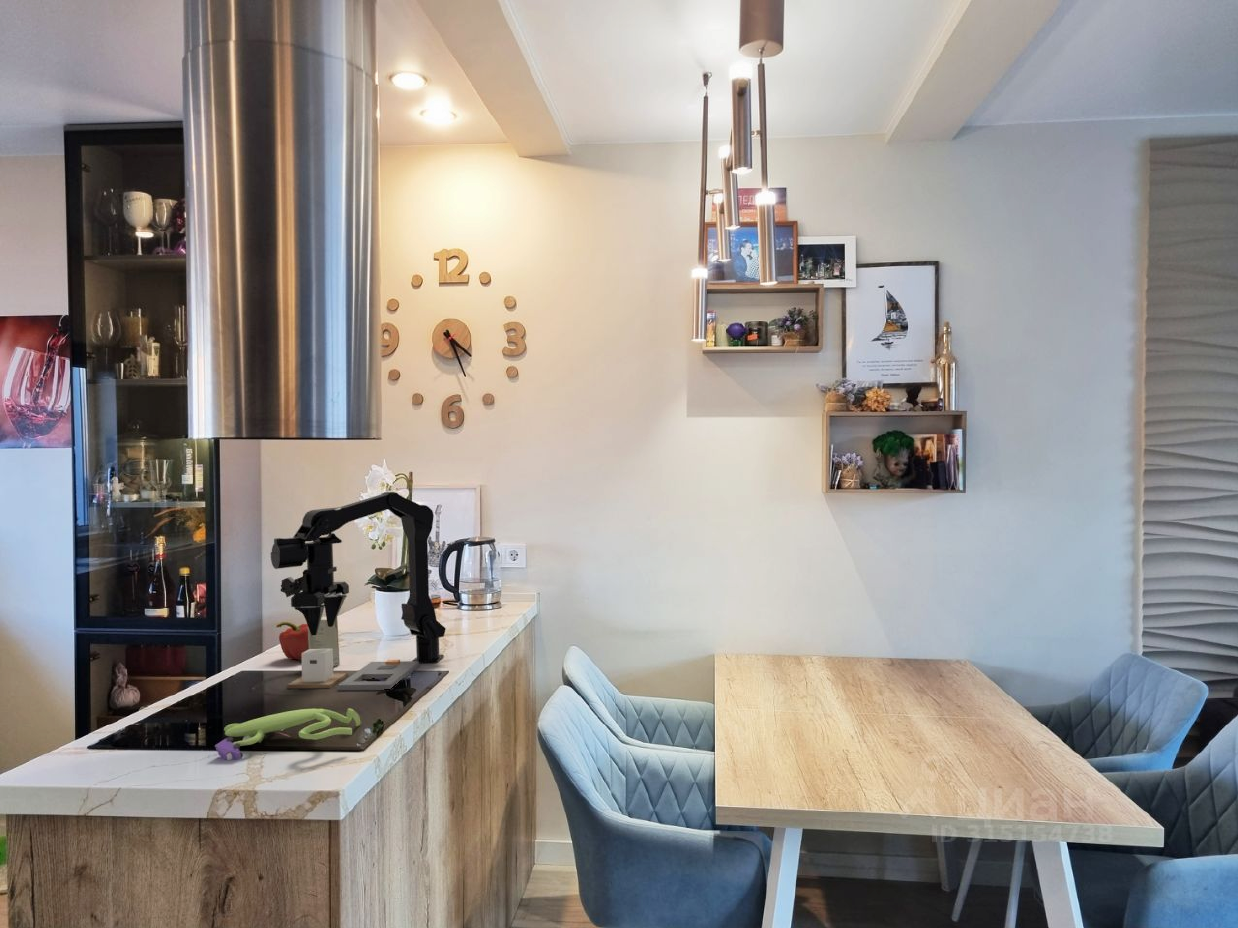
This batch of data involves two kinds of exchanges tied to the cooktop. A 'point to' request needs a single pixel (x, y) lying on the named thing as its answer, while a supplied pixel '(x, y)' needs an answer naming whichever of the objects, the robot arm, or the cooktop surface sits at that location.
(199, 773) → the cooktop surface
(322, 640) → the skincare box
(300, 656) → the vegetable
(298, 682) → the walnut coaster
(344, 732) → the figurine
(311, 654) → the block
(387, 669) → the grey slotted tray
